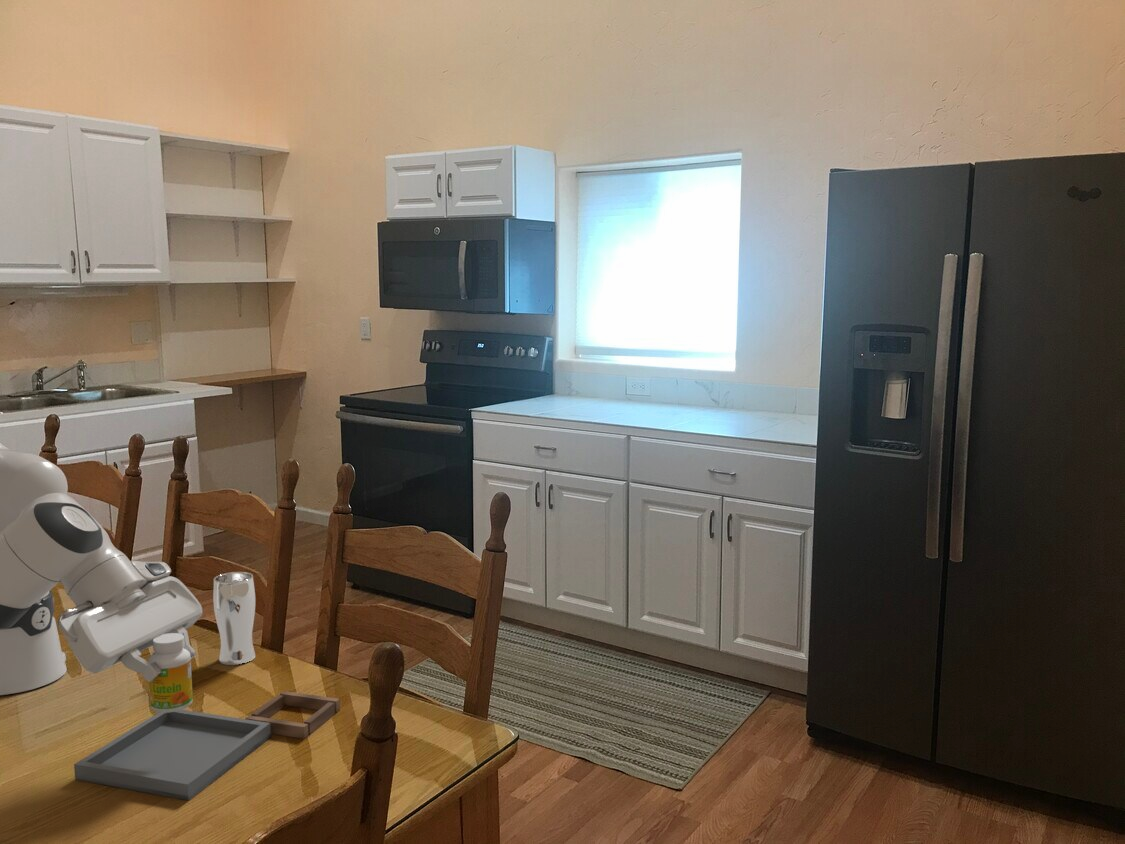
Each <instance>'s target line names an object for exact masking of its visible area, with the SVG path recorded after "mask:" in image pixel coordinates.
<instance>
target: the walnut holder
mask: <svg viewBox="0 0 1125 844" xmlns="http://www.w3.org/2000/svg"><path fill="white" fill-rule="evenodd" d="M340 699H341V698H335V697H329V696H323V695H321V696H320V695H316V694H307V693H301V692H292V691H286V690H283V691H281V692H280V693H279V694H278V695H276V696H275V697H273V698H271V699H270V700H269V701H267V702H266V703H265V704H263V705H262V706H261V707H259V708H258V709H256V710H254V711H253V712H251V713H250V714H251V715H248V716H246V717H244V719H247V720H253V721H260V722H267V723H270V728H271V735H277V736H284V737H290V738H296V739H298V738H299V739H303V740H305V739H306V738H308V737H309V735H311V734H312V733H314V732H315V731H316V730H317V729H319V728H320V727H321V726H323V725H324V723H326V722H327V721H329V720H330V718H332V717H333V716H334V715H335V714H336V713H338V712H339V711H340V710H341V702H340ZM285 706H289V707H295V708H304V709H308V710H309V709H311V710H317V711H315V712H314V713H313V714H312V715H310V717H308V718H307V719H305V720H304V721H303V722H297V721H296V722H295V721H290V720H282V719H275V718H271V717H272V716H273V715H275V714H276V713H277V712H278V711H280V710H282V709H283V708H284V707H285Z"/></svg>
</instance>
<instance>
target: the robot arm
mask: <svg viewBox="0 0 1125 844" xmlns="http://www.w3.org/2000/svg"><path fill="white" fill-rule="evenodd" d="M68 490H69V487H68V481H67V477H66V475H65V473H64V472H63V470H62V469H61V468H60V467H59V466H57V465H55V463H53V462H51V461H50V460H48V459H46V458H44V457H42V456H40V455H37V454H35V453H29V452H28V453H27V452H22V451H16V450H15V451H14V450H12V449H10V448H8V447H7V446H5V445H4V444H2V443H1V442H0V696H4V695H5V696H6V695H10V694H18V693H22V692H27V691H31V690H35V689H38V688H40V687H43V686H46V685H49V684H51V683H54V682H55V681H57V680H59V679H60V678H62V677H63V676H64V675H65V674H66V672H67V670H68V669H67V665H66V663H65V661H66V660H67V656H66V653H65V652H64V651H62V647H61V642H60V636H59V631H60V632H61V634H62V635H63V636H64V637H65V640H66V642H67V644H68V646H69V647H70V650H71V651H72V653H73V654H74V656H75V658H76V659H77V661H78V662H79V663H80V665H81V667H82V668H83V669H84V670H85V671H86V672H89V673H91V674H98V673H101V672H102V671H104V670H107V669H108V668H111V667H112V666H115V665H116V664H119V663H120V662H121V663H122V664H123V666H124V667H125V668H126V669H128V670H131V671H133V672H136V673H138V674H140V675H141V676H142V677H143V678H144V680H146V682H147V683H149V682H151V681H153V680H154V679H156V678H158V677H159V675H161V674H162V669H161V668H160V667H159V666H158V664H157V663H156V662H154V663H149V662H148V661H149V660H146V659H145V658H143V657H141V656H142V652H143V651H145V650H148V649H149V648H150V647H153V639H154V638H156V637H158V636H160V635H163V634H168V633H179V634H182V635H183V636H184V642H185V644H184V647H183V648H184V649H186V650H188V651H189V653H190V657H191V660H192V659H194V658H195V656H196V654H197V653H196V650H195V649H194V648H193V647H192V645H191V644H190V638H189V633H188V629H189V628H192V626H194V625H195V623H196V622H197V621H198V620H199V619H200V618H201V617H202V615H203V607H202V605H201V603H200V602H199V600H198V599H197V598H196V596H195V595H194V594H193V592H191V590H190V589H189V588H188V587H187V586H186V585H185V584H184V583H183V581H181V580H180V579H179V578H177V577H174V576H172V575H171V576H170V574H171V573H172V569H171V567H170V566H169V565H168V564H167V563H166V562H164V561H139V560H130V559H129V558H128V556H127V555H126V554H125V552H122V551H121V550H119V549H118V548H117V547H115V546H114V544H113V543H112V541H111V538H110V536H109V534H108V532H107V531H106V530H105V529H104V528H103V526H102V525H101V524H100V523H99V522H98V521H97V520H96V518H95V517H93V516H92V514H90V512H89V511H88V510H86V509H85V508H84V507H83V506H82V505H81V504H80V503H79V502H77V501H76V500H75V499H74V498H73V497H71V496H69V495H68ZM59 583H61V584H62V585H63V587H64V590H65V593H66V595H67V596H68V598H69V599H70V600H71V602H73V604H74V605H75V607H73V608H68V609H65V610H63V611H62V612H61V613H60V616H59V617H58V619H57V622H56V618H55V617H54V612H55V605H54V603H55V598H54V596H53V595H54V594H53V591H52V589H53V588H54V587H56V585H58V584H59ZM58 629H59V631H58Z"/></svg>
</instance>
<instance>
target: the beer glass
mask: <svg viewBox="0 0 1125 844" xmlns="http://www.w3.org/2000/svg"><path fill="white" fill-rule="evenodd" d="M254 581H255V580H254V575H253V573H250V572H249V571H248V572H247V571H231V572H225V573H220V574H219V575H216V576H215V577H213V595H212V596H213V598H212V600H213V611H214V617H215V620H216V625H217V630H218V632H219V639H220V651H219V657H218V658H219V659H218V661H219V663H220V664H222V665H226V666H238V665H239V664H240V665H243V664H242V663H245V664H247V662H248V663H250V662H252V661H254V660H255V658H256V652H255V648H254V644H253V643H254V642H253V630H254V621H255V614H256V592H255V582H254ZM249 661H250V662H249ZM240 665H239V666H240Z"/></svg>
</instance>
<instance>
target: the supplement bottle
mask: <svg viewBox="0 0 1125 844" xmlns="http://www.w3.org/2000/svg"><path fill="white" fill-rule="evenodd" d="M184 644H185V642H184V636H183V635H182V634H179V633H168V634H163V635H160V636H158V637H156V638H154V639H153V646H152V650H153V651H154V652H153V653H152V654H151V655H150V656H149V657H148V660H147V661H148V662H149V663H154V662H156V663H157V664H158V666H159V667H160V668H161V669H162V674H161V675H159V677H158V678H156V679H154V680H153V681H151V682H148V683H149V701H150V708H151V710H152V711H154V712H156V713H159V712H160V713H170V712H176V711H179V710H186V709H187V708H188V707H189V706H191V704H193V701H194V698H193V696H194V695H193V694H194V693H193V678H192V659H191V657H190V653H189V651H188V650H186V649H184V648H183V647H184Z"/></svg>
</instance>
